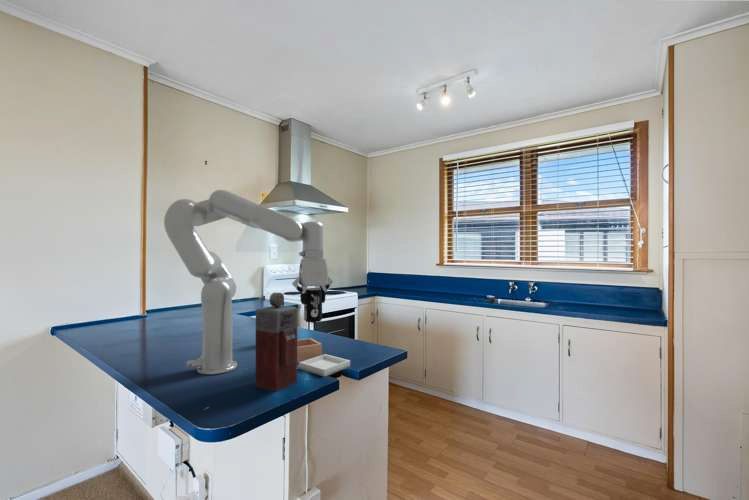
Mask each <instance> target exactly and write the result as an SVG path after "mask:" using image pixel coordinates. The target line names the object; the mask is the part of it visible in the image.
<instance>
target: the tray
mask: <svg viewBox="0 0 749 500" xmlns="http://www.w3.org/2000/svg"><path fill="white" fill-rule="evenodd" d="M347 367H348V368H350V367H351V360H350V359H345V358H342V357H337V356H335V355H330V354H327V353H324V354H322V355H321V356H318V357H315V358H311V359H308V360H305V361H302V362H299V363H298V370H302V371H305V372H308V373H312V374H314V375H317V376H322V377H324V378H325V377H327V376H330V375H333V374H335V373H337V372H341V371H343V370H346V369H348V368H347Z"/></svg>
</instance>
